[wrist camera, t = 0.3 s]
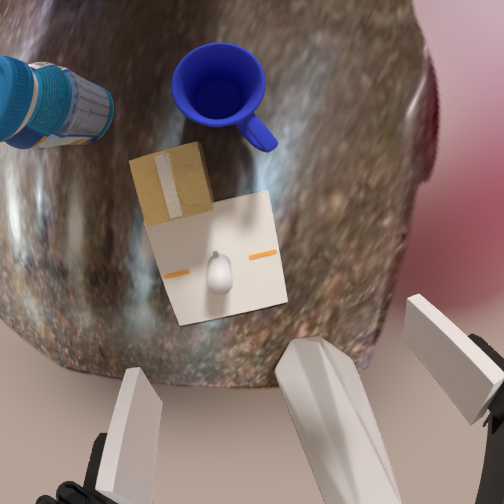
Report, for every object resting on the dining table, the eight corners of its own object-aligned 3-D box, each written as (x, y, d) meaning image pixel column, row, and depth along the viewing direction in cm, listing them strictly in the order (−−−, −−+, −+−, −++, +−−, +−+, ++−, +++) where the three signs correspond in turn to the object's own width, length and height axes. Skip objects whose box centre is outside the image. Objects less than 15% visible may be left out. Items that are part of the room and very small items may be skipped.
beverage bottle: (128, 118, 30) (36, 92, 11) (79, 159, 30) (-29, 181, 12) (98, 72, 27) (7, 23, 8) (52, 114, 27) (-54, 106, 9)
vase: (343, 362, 47) (423, 515, 16) (283, 384, 47) (332, 553, 16) (334, 311, 42) (448, 495, 12) (263, 337, 42) (321, 551, 12)
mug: (233, 170, 34) (240, 178, 24) (170, 99, 29) (152, 80, 20) (285, 129, 32) (311, 122, 23) (223, 58, 28) (226, 26, 19)
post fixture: (144, 219, 34) (130, 233, 29) (267, 190, 35) (277, 198, 29) (180, 323, 40) (175, 349, 34) (287, 300, 41) (297, 323, 35)
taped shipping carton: (148, 158, 32) (125, 161, 23) (201, 143, 32) (196, 140, 24) (161, 210, 34) (144, 230, 26) (214, 197, 34) (212, 212, 26)
